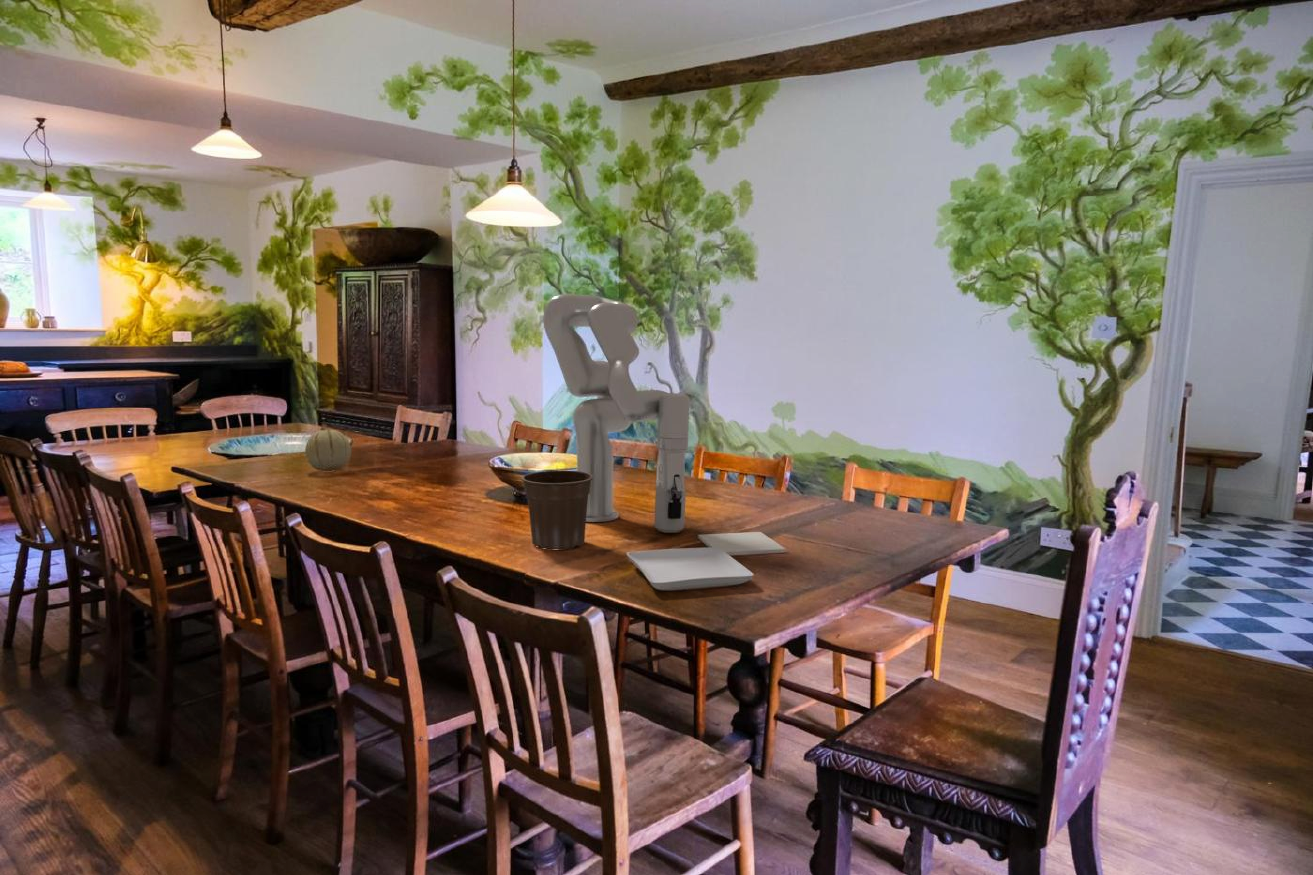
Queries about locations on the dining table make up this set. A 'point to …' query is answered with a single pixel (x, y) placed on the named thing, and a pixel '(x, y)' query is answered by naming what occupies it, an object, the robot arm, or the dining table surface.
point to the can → (662, 512)
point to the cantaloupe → (328, 450)
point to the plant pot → (557, 507)
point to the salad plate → (689, 568)
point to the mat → (742, 543)
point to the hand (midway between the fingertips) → (669, 513)
